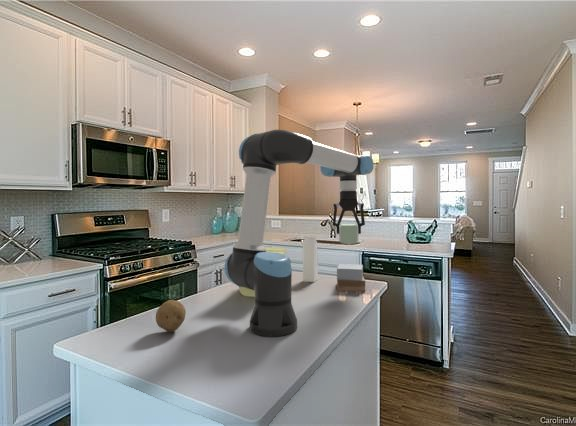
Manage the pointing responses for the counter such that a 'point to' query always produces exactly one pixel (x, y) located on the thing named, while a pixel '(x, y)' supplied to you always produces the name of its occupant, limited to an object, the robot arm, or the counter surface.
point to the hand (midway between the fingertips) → (348, 240)
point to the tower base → (351, 285)
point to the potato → (170, 315)
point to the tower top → (350, 272)
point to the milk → (310, 259)
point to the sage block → (348, 233)
